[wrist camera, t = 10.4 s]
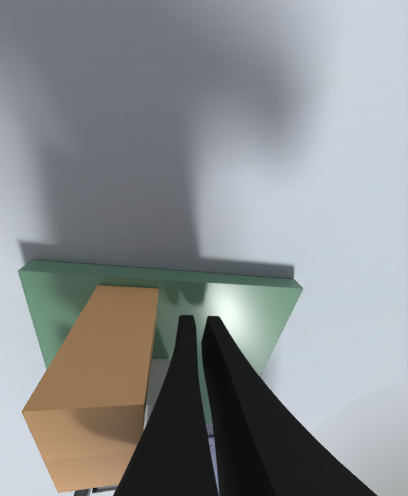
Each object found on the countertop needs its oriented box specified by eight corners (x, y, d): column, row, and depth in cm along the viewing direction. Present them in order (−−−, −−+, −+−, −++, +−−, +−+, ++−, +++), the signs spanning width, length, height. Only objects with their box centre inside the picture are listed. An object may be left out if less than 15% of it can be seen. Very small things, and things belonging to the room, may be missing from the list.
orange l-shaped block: (152, 360, 12) (138, 481, 8) (104, 361, 12) (58, 492, 7) (159, 288, 10) (144, 404, 5) (97, 285, 9) (21, 411, 5)
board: (235, 407, 19) (253, 484, 15) (71, 419, 16) (32, 519, 12) (294, 278, 12) (359, 348, 8) (32, 259, 9) (-94, 352, 5)
